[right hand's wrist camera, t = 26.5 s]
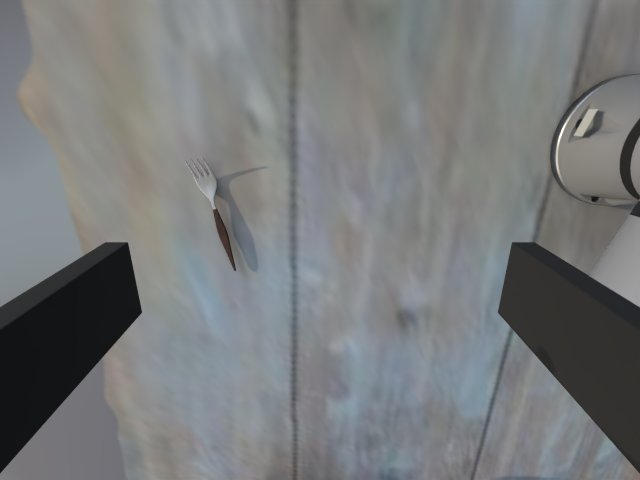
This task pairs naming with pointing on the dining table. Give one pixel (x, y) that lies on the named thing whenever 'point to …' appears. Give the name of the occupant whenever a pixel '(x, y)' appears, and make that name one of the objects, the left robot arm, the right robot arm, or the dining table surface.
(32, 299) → the right robot arm
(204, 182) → the fork
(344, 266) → the dining table surface
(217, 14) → the dining table surface
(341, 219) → the dining table surface
